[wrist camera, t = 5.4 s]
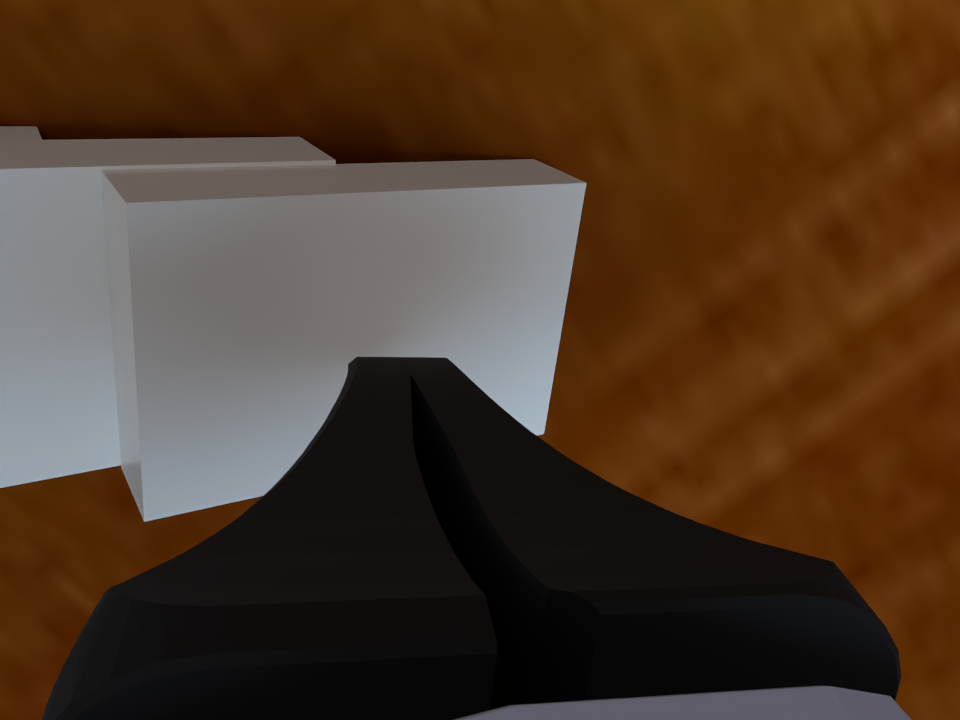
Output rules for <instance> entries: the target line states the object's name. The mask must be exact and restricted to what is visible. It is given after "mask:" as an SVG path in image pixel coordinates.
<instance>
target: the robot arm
mask: <svg viewBox="0 0 960 720" xmlns="http://www.w3.org/2000/svg"><path fill="white" fill-rule="evenodd" d="M900 679H901V672H900V662H899V652H898V649H897V647H896V645H895V643H894V641H893V640H892V638H891V636H890V634H889V632H888V630H887V629H886V627H885V625H884V624H883V623H882V622H881V620H880V619H879V618H878V617H877V615H876V614H875V613H874V612H873V610H872V609H871V608H870V607H869V605H868V604H867V603H866V602H865V600H864V599H863V598H862V597H861V595H860V594H859V593H858V592H857V590H856V589H855V588H854V587H853V585H852V584H851V583H850V582H849V580H848V579H847V578H846V577H845V575H844V574H843V573H842V572H841V570H840V569H839V568H838V567H837V566H836V565H835V564H834V562H832V561H828V560H824V559H820V558H816V557H812V556H809V555H805V554H801V553H797V552H793V551H789V550H785V549H782V548H778V547H774V546H770V545H766V544H762V543H758V542H755V541H751V540H748V539H745V538H741V537H738V536H736V535H733V534H730V533H727V532H724V531H721V530H718V529H715V528H712V527H709V526H706V525H704V524H701V523H698V522H695V521H693V520H690V519H688V518H685V517H683V516H680V515H678V514H675V513H673V512H670V511H668V510H666V509H663V508H661V507H659V506H657V505H655V504H652V503H650V502H648V501H646V500H644V499H642V498H639V497H637V496H635V495H633V494H631V493H629V492H627V491H625V490H623V489H621V488H619V487H617V486H615V485H613V484H611V483H609V482H607V481H606V480H604V479H602V478H601V477H599V476H597V475H596V474H594V473H592V472H590V471H589V470H587V469H585V468H584V467H582V466H580V465H579V464H577V463H575V462H573V461H572V460H570V459H569V458H567V457H566V456H564V455H563V454H561V453H560V452H558V451H557V450H555V449H554V448H553V447H551V446H550V445H549V444H547V443H546V442H545V441H543V440H542V439H540V438H539V437H538V436H536V435H535V434H534V433H532V432H531V431H530V430H528V429H527V428H526V427H524V426H523V425H522V424H521V423H519V422H518V421H517V420H516V419H515V418H513V417H512V416H511V415H510V414H509V413H507V412H506V411H505V410H504V409H503V408H502V407H500V406H499V405H498V404H497V403H496V402H495V401H493V400H492V399H491V398H490V397H489V396H488V395H487V394H486V393H485V392H484V391H482V390H481V389H480V388H479V387H478V386H477V385H476V384H475V383H474V382H473V381H472V380H471V379H470V378H468V377H467V376H466V375H465V374H464V373H463V372H462V371H461V370H460V369H459V368H458V367H457V366H456V365H455V364H453V363H452V362H451V361H450V360H449V359H448V358H436V357H356V358H355V359H354V360H352V361H351V362H350V363H349V364H348V373H347V377H346V380H345V383H344V385H343V388H342V390H341V392H340V394H339V397H338V399H337V400H336V402H335V404H334V406H333V408H332V409H331V411H330V413H329V415H328V417H327V418H326V420H325V422H324V423H323V425H322V427H321V428H320V429H319V431H318V432H317V434H316V435H315V436H314V438H313V439H312V441H311V442H310V443H309V445H308V446H307V448H306V449H305V450H304V452H303V453H302V455H301V456H300V457H299V458H298V459H297V461H296V462H295V463H294V464H293V465H292V467H291V468H290V469H289V470H288V471H287V472H286V473H285V475H284V476H283V477H282V478H281V479H280V480H279V481H278V482H277V483H276V484H275V485H274V486H273V487H272V488H271V489H270V490H269V491H268V492H267V493H266V494H265V495H264V496H263V497H261V498H260V499H259V500H258V501H257V502H256V503H255V504H254V505H252V506H251V507H250V508H249V509H248V510H247V511H246V512H245V513H244V514H242V515H241V516H240V517H239V518H237V519H236V520H235V521H233V522H232V523H230V524H229V525H227V526H226V527H225V528H223V529H222V530H220V531H219V532H217V533H216V534H214V535H213V536H211V537H209V538H208V539H206V540H204V541H203V542H201V543H199V544H198V545H196V546H195V547H193V548H191V549H190V550H188V551H186V552H184V553H182V554H181V555H179V556H177V557H175V558H173V559H171V560H169V561H167V562H165V563H163V564H161V565H159V566H156V567H154V568H152V569H150V570H148V571H146V572H144V573H142V574H140V575H138V576H135V577H133V578H131V579H129V580H127V581H125V582H123V583H120V584H118V585H115V586H113V587H111V588H109V589H108V590H107V591H106V592H105V593H104V595H103V597H102V598H101V600H100V601H99V603H98V605H97V606H96V608H95V610H94V611H93V613H92V615H91V616H90V618H89V620H88V622H87V623H86V625H85V627H84V628H83V630H82V632H81V634H80V635H79V637H78V639H77V641H76V643H75V645H74V647H73V649H72V651H71V653H70V655H69V657H68V658H67V660H66V662H65V664H64V666H63V668H62V670H61V672H60V675H59V677H58V679H57V681H56V683H55V685H54V688H53V690H52V693H51V695H50V698H49V701H48V703H47V706H46V709H45V712H44V715H43V718H42V720H911V719H910V717H909V716H908V715H907V714H906V713H905V712H904V711H903V710H902V709H901V707H900V706H899V705H898V704H897V703H896V702H895V700H896V696H897V692H898V688H899V684H900Z"/></svg>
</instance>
